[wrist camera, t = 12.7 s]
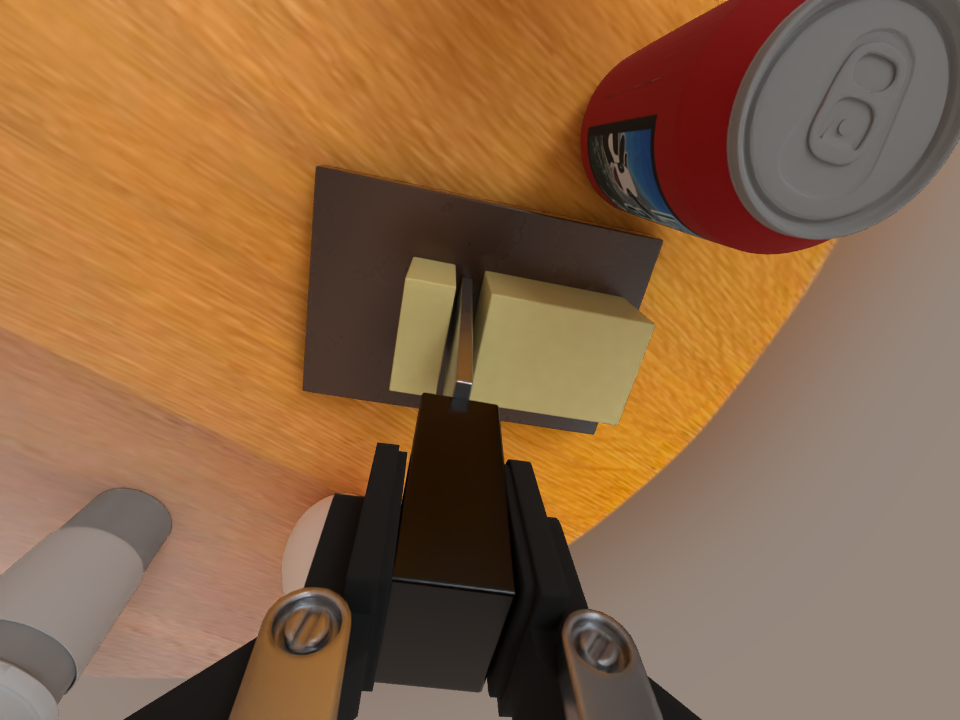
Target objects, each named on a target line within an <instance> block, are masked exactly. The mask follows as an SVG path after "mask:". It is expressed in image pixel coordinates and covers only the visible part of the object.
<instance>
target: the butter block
mask: <svg viewBox="0 0 960 720" xmlns="http://www.w3.org/2000/svg"><path fill="white" fill-rule="evenodd" d="M654 328H655V324H654V323H653V322H652V321H651V320H649V319H648V318H647V317H646V316H645V315H643V314H642V313H641V312H640V311H639V310H638V309H636V308H635V307H634V306H633V305H632V304H630V303H629V302H628V301H627V300H626V299H624V298H623V297H619V296H614V295H609V294H604V293H599V292H594V291H588V290H583V289H578V288H573V287H568V286H563V285H557V284H552V283H547V282H542V281H537V280H532V279H526V278H521V277H516V276H511V275H506V274H501V273H495V272H490V271H485V273H484V278H483V283H482V288H481V292H480V297H479V302H478V306H477V311H476V316H475V320H474V325H473V387H472V391H471V395H470V400H473V401H479V402H485V403H491V404H497V405H498V406H499V407H501V408H508V409H514V410H521V411H527V412H534V413H540V414H547V415H553V416H560V417H566V418H573V419H579V420H586V421H592V422H598V423H605V424H611V425H618V423H619V420H620V417H621V415H622V412H623V409H624V407H625V404H626V401H627V399H628V396H629V394H630V391H631V388H632V386H633V383H634V380H635V378H636V375H637V372H638V370H639V367H640V364H641V362H642V359H643V357H644V354H645V351H646V349H647V346H648V343H649V341H650V338H651V335H652V333H653V330H654Z"/></svg>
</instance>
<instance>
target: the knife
mask: <svg viewBox="0 0 960 720" xmlns="http://www.w3.org/2000/svg"><path fill="white" fill-rule="evenodd" d="M472 387H473V322H472V279H470V278H465V277H462V279H461V284H460V289H459V294H458V300H457V305H456V310H455V315H454V320H453V325H452V330H451V335H450V340H449V345H448V351H447V359H446V369H445V378H444V388H443V395H438V394H432V393H426V392H424V393H423V394H422V396H421V401H420V407H419V412H418V417H417V423H416V428H415V434H414V439H413V444H412V450H411V455H410V461H409V466H408V471H407V477H406V482H405V488H404V493H403V499H402V504H401V510H400V519H399V527H398V536H397V544H396V553H395V561H394V569H393V577H392V583H391V590H390V596H389V601H388V607H387V612H386V618H385V624H384V629H383V635H382V640H381V646H380V651H379V657H378V663H377V668H376V674H375V679H374V682H377V683H387V684H398V685H407V686H417V687H427V688H437V689H449V690H458V691H469V692H481V691H482V689H483V686H484V684H485V681H486V678H487V675H488V673H489V670H490V667H491V665H492V662H493V659H494V656H495V654H496V651H497V648H498V645H499V643H500V640H501V637H502V634H503V632H504V629H505V626H506V624H507V621H508V618H509V615H510V613H511V610H512V607H513V604H514V602H515V599H516V596H517V584H516V574H515V564H514V554H513V544H512V534H511V524H510V514H509V505H508V496H507V485H506V474H505V464H504V454H503V444H502V434H501V424H500V414H499V406H498V405H497V404H491V403H485V402H479V401H473V400H470V395H471V391H472Z"/></svg>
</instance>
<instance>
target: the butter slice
mask: <svg viewBox="0 0 960 720" xmlns="http://www.w3.org/2000/svg"><path fill="white" fill-rule="evenodd" d="M455 292H456V266H455V265H454V264H449V263H444V262H439V261H434V260H429V259H423V258H418V257H413V259H412V262H411V264H410V267H409V270H408V272H407V275H406V278H405V283H404V290H403V297H402V304H401V311H400V318H399V325H398V332H397V339H396V345H395V352H394V359H393V366H392V373H391V380H390V387H389V389H390V390H391V391H397V392H403V393H410V394H416V395H422V394H423V393H424V392H426V393H432V394H436V392H437V386H438V381H439V376H440V371H441V365H442V360H443V355H444V350H445V344H446V339H447V334H448V329H449V323H450V318H451V313H452V308H453V302H454V297H455Z"/></svg>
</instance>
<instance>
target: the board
mask: <svg viewBox="0 0 960 720" xmlns="http://www.w3.org/2000/svg"><path fill="white" fill-rule="evenodd" d="M662 243H663V240H662V239H660V238H657V237H655V236H652V235H649V234H645V233H640V232H635V231H631V230H626V229H621V228H617V227H612V226H607V225H603V224H598V223H593V222H589V221H584V220H579V219H575V218H570V217H565V216H561V215H556V214H551V213H547V212H542V211H537V210H533V209H528V208H523V207H519V206H514V205H509V204H505V203H500V202H495V201H491V200H486V199H481V198H477V197H472V196H467V195H463V194H458V193H453V192H449V191H444V190H439V189H435V188H430V187H426V186H421V185H416V184H412V183H407V182H402V181H398V180H393V179H388V178H384V177H379V176H374V175H370V174H365V173H360V172H356V171H351V170H346V169H342V168H337V167H332V166H328V165H322V166H316V174H315V190H314V207H313V224H312V240H311V257H310V273H309V290H308V306H307V323H306V340H305V356H304V373H303V391H306V392H313V393H320V394H326V395H333V396H339V397H346V398H353V399H359V400H366V401H373V402H379V403H386V404H393V405H399V406H406V407H413V408H419V407H420V401H421V396H422V395H416V394H410V393H403V392H397V391H391V390H390V389H389V387H390V380H391V373H392V366H393V359H394V352H395V345H396V339H397V332H398V325H399V318H400V311H401V304H402V297H403V290H404V283H405V278H406V275H407V272H408V270H409V267H410V264H411V262H412V259H413V257H418V258H423V259H429V260H434V261H439V262H444V263H449V264H454V265H455V266H456V292H455V297H454V302H453V308H452V313H451V318H450V323H449V329H448V334H447V339H446V344H445V350H444V355H443V360H442V365H441V371H440V376H439V381H438V386H437V392H436V394H438V395H443V388H444V378H445V369H446V359H447V351H448V345H449V340H450V335H451V330H452V325H453V320H454V315H455V310H456V305H457V300H458V294H459V289H460V284H461V279H462V277H465V278H470V279H472V322H473V325H474V320H475V316H476V311H477V306H478V302H479V297H480V292H481V288H482V283H483V278H484V273H485V271H490V272H495V273H501V274H506V275H511V276H516V277H521V278H526V279H532V280H537V281H542V282H547V283H552V284H557V285H563V286H568V287H573V288H578V289H583V290H588V291H594V292H599V293H604V294H609V295H614V296H619V297H623V298H624V299H626V300H627V301H628V302H629V303H630V304H632V305H633V306H634V307H635V308H636V309H638V310H639V307H640V305H641V302H642V299H643V296H644V294H645V291H646V288H647V285H648V282H649V280H650V277H651V274H652V271H653V268H654V266H655V263H656V260H657V257H658V254H659V252H660V249H661V246H662ZM499 414H500V421H506V422H513V423H519V424H526V425H532V426H539V427H546V428H552V429H559V430H566V431H572V432H579V433H586V434H592V435H593V434H594V433H595V430H596V427H597V425H598V422H592V421H586V420H579V419H573V418H566V417H560V416H553V415H547V414H540V413H534V412H527V411H521V410H514V409H508V408H501V407H499Z"/></svg>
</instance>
